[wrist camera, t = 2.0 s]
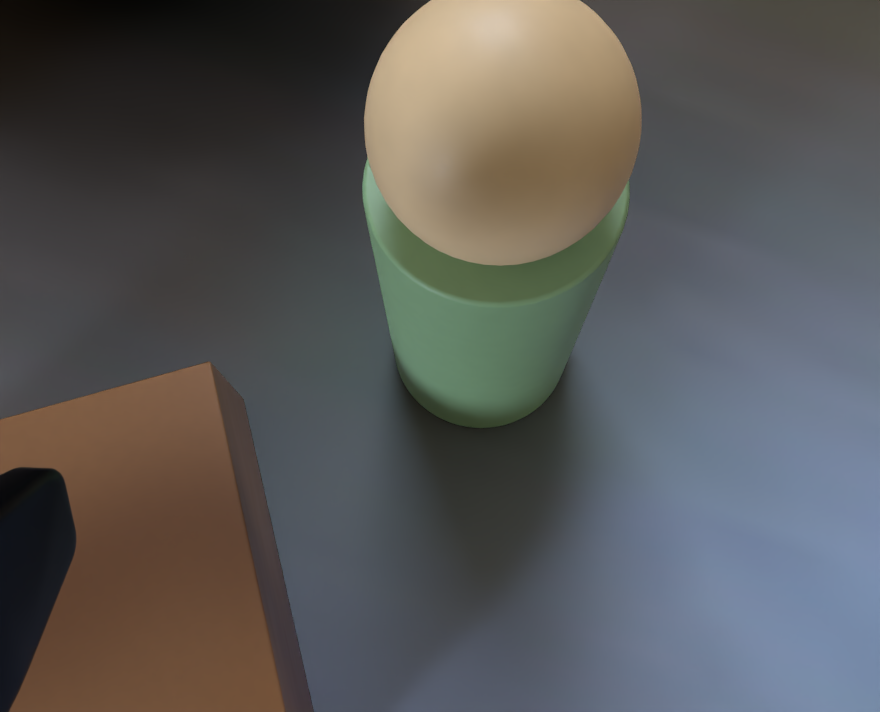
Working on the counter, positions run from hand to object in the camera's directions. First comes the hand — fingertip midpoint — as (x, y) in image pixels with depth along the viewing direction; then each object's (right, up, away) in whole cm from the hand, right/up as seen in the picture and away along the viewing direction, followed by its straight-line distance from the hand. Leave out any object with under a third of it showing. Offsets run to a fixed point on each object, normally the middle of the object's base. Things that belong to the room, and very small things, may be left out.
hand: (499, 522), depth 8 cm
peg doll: (0, +2, +13) cm, 13 cm away
